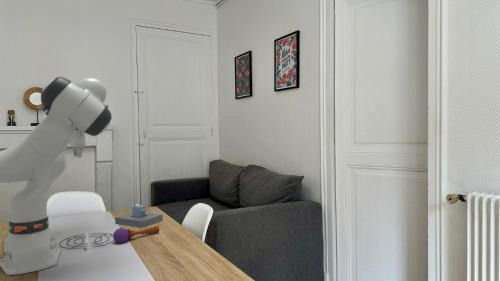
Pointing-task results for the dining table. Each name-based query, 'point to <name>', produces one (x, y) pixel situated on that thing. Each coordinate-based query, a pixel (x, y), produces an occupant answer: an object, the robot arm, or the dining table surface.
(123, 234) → the purple maraca
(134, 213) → the servo
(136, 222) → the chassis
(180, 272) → the dining table surface
